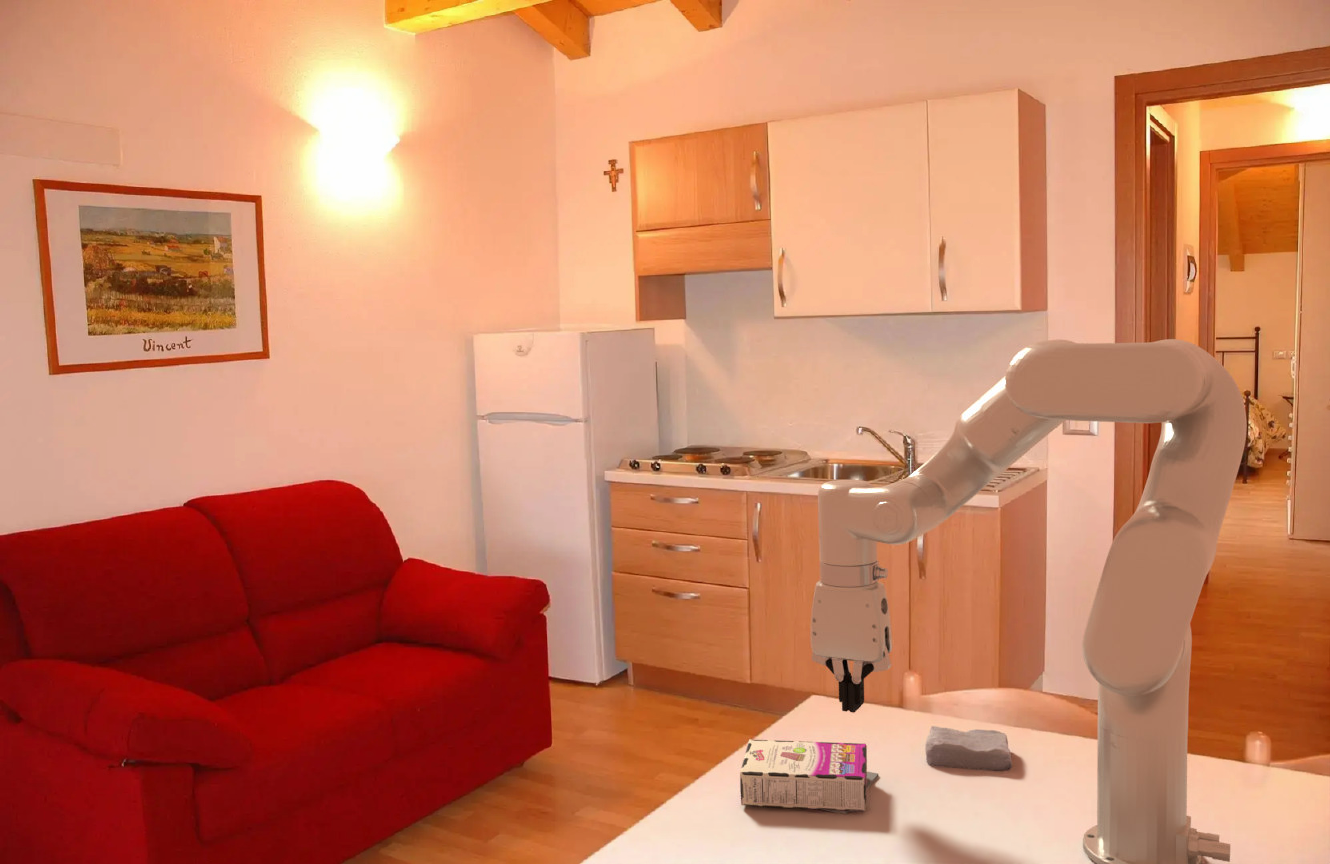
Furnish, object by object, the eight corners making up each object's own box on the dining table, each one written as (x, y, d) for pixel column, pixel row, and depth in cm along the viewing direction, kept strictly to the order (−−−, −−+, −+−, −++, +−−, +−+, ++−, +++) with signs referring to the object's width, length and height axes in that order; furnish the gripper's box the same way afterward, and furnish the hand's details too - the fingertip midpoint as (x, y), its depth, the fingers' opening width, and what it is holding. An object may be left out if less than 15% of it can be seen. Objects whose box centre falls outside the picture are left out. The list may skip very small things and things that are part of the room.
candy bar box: (867, 777, 149) (749, 770, 152) (867, 742, 148) (748, 736, 152) (866, 815, 138) (739, 806, 141) (866, 777, 137) (738, 770, 141)
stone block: (925, 754, 162) (924, 768, 152) (926, 722, 162) (925, 733, 153) (1008, 763, 159) (1012, 777, 149) (1009, 729, 159) (1013, 742, 150)
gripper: (912, 572, 142) (915, 707, 143) (806, 564, 149) (810, 692, 151) (894, 585, 135) (897, 726, 137) (785, 575, 143) (789, 710, 144)
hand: (851, 708), depth 144 cm, fingers closed
